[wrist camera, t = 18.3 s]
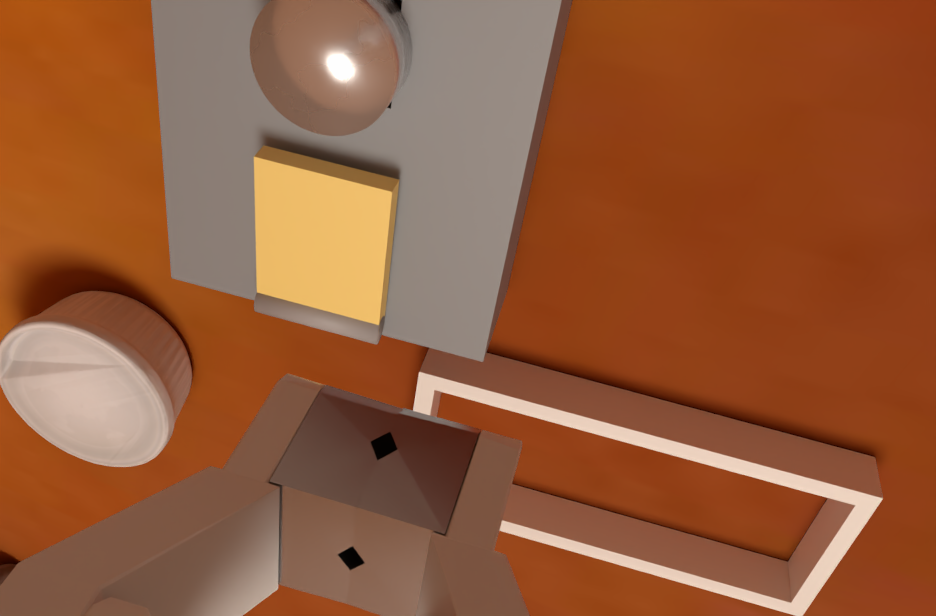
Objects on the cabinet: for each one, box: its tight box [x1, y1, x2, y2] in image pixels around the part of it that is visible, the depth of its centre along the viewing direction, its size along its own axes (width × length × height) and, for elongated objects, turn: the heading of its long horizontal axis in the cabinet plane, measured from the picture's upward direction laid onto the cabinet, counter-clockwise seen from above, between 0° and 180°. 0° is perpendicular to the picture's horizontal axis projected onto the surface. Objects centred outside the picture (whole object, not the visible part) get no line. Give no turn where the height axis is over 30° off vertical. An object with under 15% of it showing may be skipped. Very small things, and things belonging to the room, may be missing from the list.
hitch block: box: [151, 0, 572, 362], centre depth 39 cm, size 16×20×6 cm
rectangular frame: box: [413, 348, 883, 616], centre depth 51 cm, size 25×11×3 cm, turn 81°
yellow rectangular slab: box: [254, 145, 399, 344], centre depth 39 cm, size 6×9×1 cm
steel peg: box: [250, 0, 413, 136], centre depth 36 cm, size 6×6×8 cm
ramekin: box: [0, 291, 192, 467], centre depth 54 cm, size 11×11×5 cm
